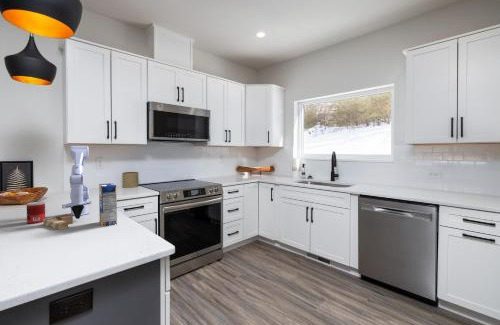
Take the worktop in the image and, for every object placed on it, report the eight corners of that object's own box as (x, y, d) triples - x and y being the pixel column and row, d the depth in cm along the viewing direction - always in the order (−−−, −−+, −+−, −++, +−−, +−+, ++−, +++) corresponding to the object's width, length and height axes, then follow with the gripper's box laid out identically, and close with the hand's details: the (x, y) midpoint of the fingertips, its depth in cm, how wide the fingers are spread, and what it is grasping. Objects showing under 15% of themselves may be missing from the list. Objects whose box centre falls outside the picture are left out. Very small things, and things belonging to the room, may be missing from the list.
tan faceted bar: (43, 224, 135) (43, 219, 135) (52, 222, 139) (52, 217, 139) (59, 229, 127) (59, 224, 126) (68, 227, 130) (68, 222, 130)
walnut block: (56, 223, 138) (55, 215, 137) (66, 221, 142) (66, 214, 142) (62, 226, 133) (62, 218, 133) (72, 224, 138) (72, 216, 137)
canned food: (48, 220, 143) (48, 201, 143) (35, 224, 136) (35, 204, 135) (37, 219, 144) (36, 201, 144) (23, 223, 136) (22, 204, 136)
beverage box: (102, 226, 133) (102, 186, 132) (99, 221, 142) (99, 184, 141) (116, 224, 137) (116, 185, 136) (112, 220, 146) (112, 183, 145)
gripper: (66, 198, 134) (66, 222, 135) (94, 194, 147) (94, 216, 147) (60, 196, 138) (60, 220, 138) (87, 193, 150) (88, 214, 151)
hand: (77, 218), depth 143 cm, fingers closed
